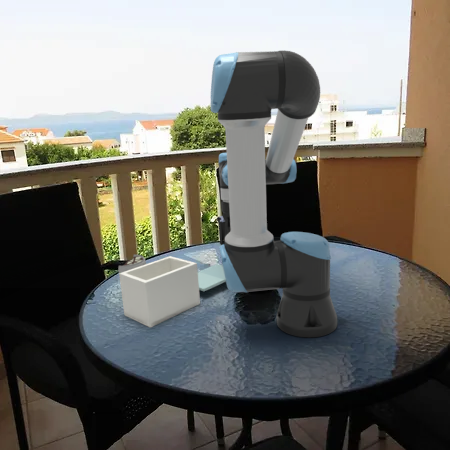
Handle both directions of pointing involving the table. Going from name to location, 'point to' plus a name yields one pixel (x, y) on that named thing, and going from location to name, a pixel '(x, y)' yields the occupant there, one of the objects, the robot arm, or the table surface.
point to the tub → (159, 290)
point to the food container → (132, 263)
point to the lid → (211, 277)
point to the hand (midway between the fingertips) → (236, 266)
